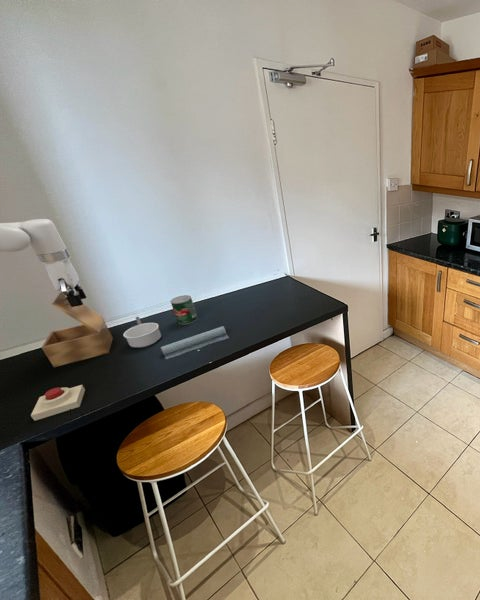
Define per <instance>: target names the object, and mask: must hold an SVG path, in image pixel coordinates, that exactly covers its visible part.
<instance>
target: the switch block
mask: <svg viewBox="0 0 480 600" xmlns="http://www.w3.org/2000/svg"><path fill="white" fill-rule="evenodd" d="M60 388H61V389H62V391H63V392H64V393H63V394H62V395H61V396H59V397H57V398H55V399H52V400H48V399H47V398H46V396H45V394H44V395H42V396H39V397H38V400H37V402H36V404H35V406H34V408H33V410H32V412H31V414H30V417H31V418H32V420H33V421H38V420H42V419H45V418H48V417H51V416H55V415H57V414H61V413H64V412H67V411H71V410H74V409H76V408H77V409H78V408H80V407H81V405H82V401H83V397H84V395H85V391H86V389H85V387H84V385H83V384H80V385H76V386H73V387H70V388H69V387H67V386H66V387H60ZM70 409H71V410H70Z"/></svg>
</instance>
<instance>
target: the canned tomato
mask: <svg viewBox="0 0 480 600" xmlns="http://www.w3.org/2000/svg"><path fill="white" fill-rule="evenodd" d="M169 302H170V304H171V306H172V307H171V308H172V310H173V312H174V316H175V318H176V320H177V323H178V325H182V326H185V325H190V324H193V323H195V322H196V321H198V319H199V316H198V314H197V311H196V307H195V304H194V302H193V299H192V295H185V294H184V295H179V296H176V297H173V298H172V299H171V300H170V301H169Z"/></svg>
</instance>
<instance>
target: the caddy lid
mask: <svg viewBox="0 0 480 600" xmlns="http://www.w3.org/2000/svg"><path fill="white" fill-rule="evenodd" d="M76 294H77V295H79V292H78V291H76ZM51 305H53V306H54V307H55V308H57V309H58V310H60V311H61V312H63V313H65V314H66V315H68V316H69V317H71V318H72V319H74V320H76V321H77V322H78V323H80V324H81V325H85V326H86V327H88V328H89V329H91V330H93V331H94V332H96V333H97V334H98V333H99V332H100V329H101V326H102V324H103V321H105V317H103V316H102V315H101V314H99V313H98V312H96V311H95V310H93V309H91V308H90V307H89V306H87V305H86V304H84V303H83V305H80V306H75V307H71V305H70V304H69V302H68V300H67V298H66V297H65V294H64V293H62V290H60V292H59V293H58V294H57V295H56V297H55V298H54V300H53V301H52V303H51Z"/></svg>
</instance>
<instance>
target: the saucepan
mask: <svg viewBox="0 0 480 600" xmlns="http://www.w3.org/2000/svg"><path fill="white" fill-rule="evenodd" d="M135 320H136V324H137V325H133V326H132V327H130V328H128V329H127V330H125V331H124V333H123V337H124V338H125V339H126V342H127V343H128V345H129V346H130V347H131V348H145V347H149V346H151V345H153V344H155V343H157V342H158V341H159V340H160V339H161V337H162V334H161V331H160V328H159V323H156V322H145V323H142V321H141V319H140V317H139V316H136V317H135Z"/></svg>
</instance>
